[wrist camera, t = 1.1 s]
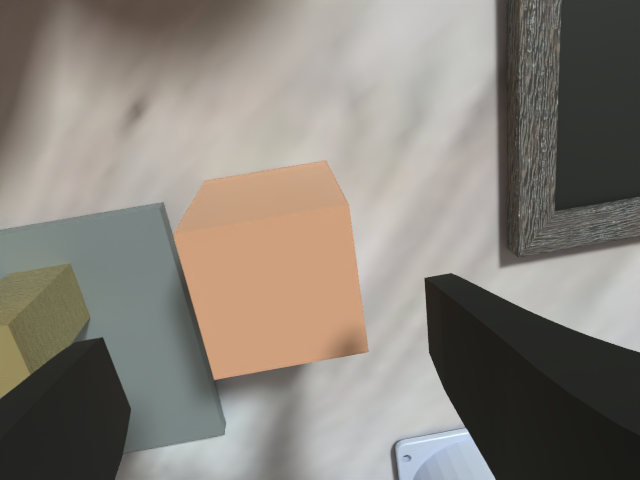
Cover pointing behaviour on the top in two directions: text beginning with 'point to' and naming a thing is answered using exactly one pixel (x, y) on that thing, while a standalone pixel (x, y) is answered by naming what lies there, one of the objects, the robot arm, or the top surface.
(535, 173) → the picture frame
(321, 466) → the top surface
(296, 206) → the orange cube on tile
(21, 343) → the brass post
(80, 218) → the slate board
